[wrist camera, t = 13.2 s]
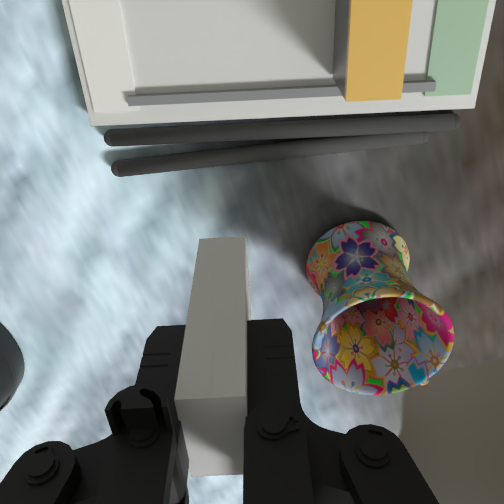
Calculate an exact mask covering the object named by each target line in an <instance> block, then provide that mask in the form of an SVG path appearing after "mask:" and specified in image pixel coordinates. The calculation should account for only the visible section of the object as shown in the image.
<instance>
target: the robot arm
mask: <svg viewBox="0 0 504 504" xmlns="http://www.w3.org/2000/svg"><path fill="white" fill-rule="evenodd" d="M23 375H24V359H23V355H22V352H21V350H20V348H19V346H18V344H17V342H16V341H15V339H14V338H13V337H12V335H11V334H10V333H9V332H8V331H7V330H6V329H5V328H4V327H3V326H2V325H1V324H0V411H1V410H2V409H3V408H4V407H5V406H6V405H7V404H8V403H9V402H10V400H11V399H12V397H13V396H14V394H15V392H16V390H17V388H18V386H19V384H20V383H21V381H22V378H23ZM105 413H106V416H107V419H108V422H109V425H110V428H111V431H112V434H111V435H110V436H108V437H107V438H105V439H103V440H101V441H99V442H96V443H94V444H91V445H88V446H85V447H82V448H79V449H76V450H72V449H71V447H70V446H69V445H68V444H65V443H63V442H61V441H48V442H45V443H42V444H39V445H36V446H34V447H33V448H31V449H29V450H28V451H26V452H25V453H24V454H23V455H22V456H21V457H20V458H19V459H18V460H17V461H16V462H15V463H14V465H13V466H12V468H11V469H10V470H9V472H8V473H7V475H6V476H5V478H4V479H3V480H2V482H1V483H0V504H189V495H188V488H187V477H188V468H189V470H190V475H191V477H196V476H218V475H239V474H243V504H439V503H438V501H437V499H436V498H435V496H434V494H433V492H432V491H431V489H430V488H429V486H428V484H427V483H426V481H425V479H424V478H423V476H422V474H421V473H420V471H419V469H418V468H417V466H416V464H415V463H414V461H413V459H412V458H411V456H410V454H409V453H408V451H407V449H406V448H405V446H404V444H403V443H402V442H401V441H400V439H399V438H398V437H397V436H396V435H395V434H394V433H392V432H391V431H389V430H387V429H386V428H384V427H380V426H376V425H372V424H368V425H359V426H357V427H355V428H352V429H350V430H349V431H348V432H347V433H346V434H343V433H339V432H335V431H331V430H327V429H325V428H322V427H320V426H318V425H316V424H315V423H313V422H312V421H311V420H310V419H309V418H308V417H307V416H306V415H305V413H304V412H303V410H302V407H301V403H300V397H299V388H298V380H297V371H296V363H295V355H294V347H293V338H292V330H291V329H290V328H289V326H288V325H287V324H286V322H285V321H284V320H283V318H282V319H263V320H251V299H250V287H249V274H248V261H247V249H246V236H242V237H225V238H208V239H199V245H198V252H197V258H196V265H195V271H194V277H193V284H192V290H191V296H190V303H189V309H188V315H187V322H186V325H173V326H157V327H156V328H155V330H154V331H153V332H152V333H151V335H150V336H149V337H148V338H147V340H146V344H145V348H144V352H143V357H142V360H141V364H140V369H139V372H138V376H137V380H136V384H135V385H134V386H130V387H128V388H126V389H124V390H122V391H120V392H118V393H117V394H116V395H115V396H114V397H113V398H112V399H111V400H110V401H109V403H108V404H107V406H106V408H105Z"/></svg>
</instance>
